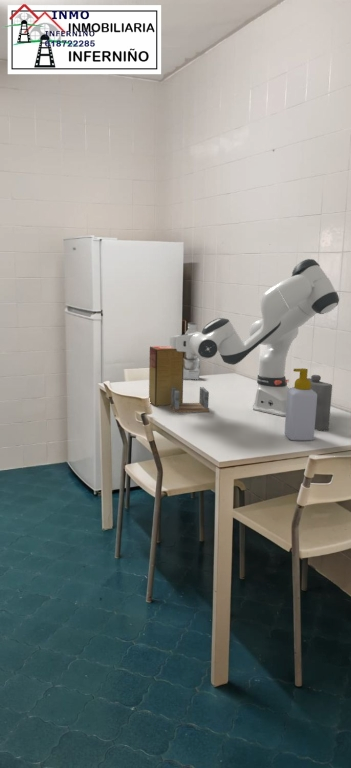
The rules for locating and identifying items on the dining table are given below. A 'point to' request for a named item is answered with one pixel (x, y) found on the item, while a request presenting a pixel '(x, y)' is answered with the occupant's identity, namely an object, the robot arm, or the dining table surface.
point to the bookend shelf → (190, 407)
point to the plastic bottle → (190, 359)
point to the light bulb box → (192, 372)
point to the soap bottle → (301, 409)
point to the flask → (321, 402)
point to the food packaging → (165, 374)
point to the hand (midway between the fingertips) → (191, 339)
